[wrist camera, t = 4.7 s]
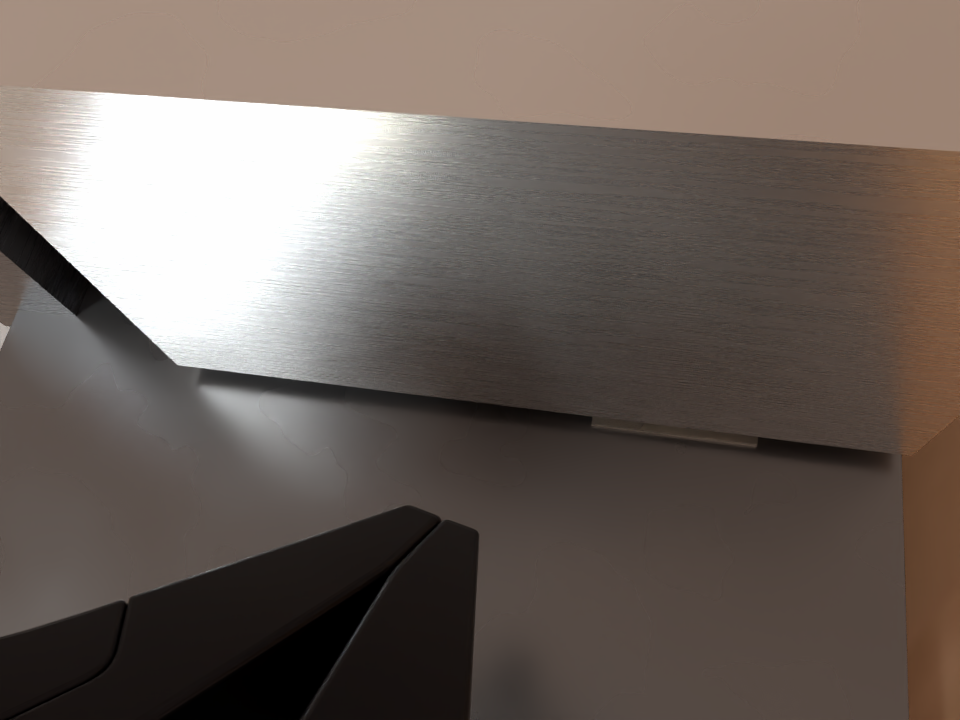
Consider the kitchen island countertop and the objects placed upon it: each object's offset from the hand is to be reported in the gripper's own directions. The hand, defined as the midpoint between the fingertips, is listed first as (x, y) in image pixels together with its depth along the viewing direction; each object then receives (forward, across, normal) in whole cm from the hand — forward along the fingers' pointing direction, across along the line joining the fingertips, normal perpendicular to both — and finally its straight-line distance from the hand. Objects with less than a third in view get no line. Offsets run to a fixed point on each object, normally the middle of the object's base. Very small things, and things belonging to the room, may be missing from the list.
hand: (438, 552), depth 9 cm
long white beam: (+8, +3, 0) cm, 9 cm away
